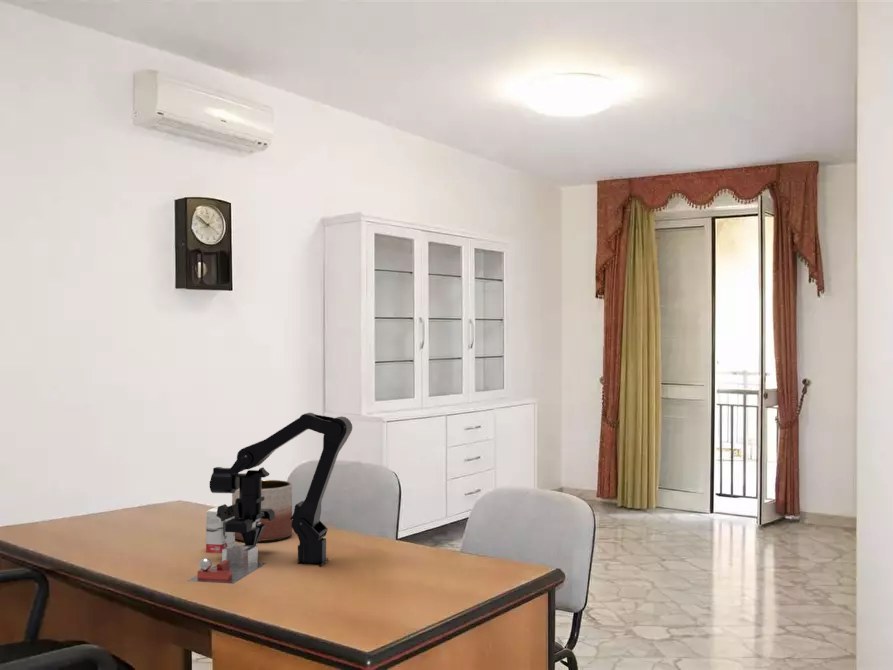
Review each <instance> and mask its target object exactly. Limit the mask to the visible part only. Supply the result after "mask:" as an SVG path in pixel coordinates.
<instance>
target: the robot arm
mask: <svg viewBox="0 0 893 670" xmlns="http://www.w3.org/2000/svg"><path fill="white" fill-rule="evenodd" d="M308 430H311V431H313V432H316V433H318V434H319V433H320V434H322V435H323V443H322V451H321V454H320V456H319V460H318V462H317V465H316V468H315V471H314V474H313V476H312V480H311V482H310V485H309V488H308V491H307V494H306V496H305V499H304V500H301V501H299V502H298V503H296V504H295V506H294V510H293V513H292V517H291V518H290V520H292V524H291V526H292V532H294V533H295V534H296V535H297V538H298V541H299V544H298V545H297V561H298V562H297V563H296V564H297V565H311V566H312V565H313V566H318V567H321V566H323V565H325V563H327V562H328V561H329V558H327V538H326V536H327V533H328V530H329V528H328V527H327V526H326V525H325V524H324V523H323V522H322V521H321V514H322V501H323V499H324V495H325V492H326V489H327V487H328V484H329V481H330V479H331V475H332V474H333V473H332V472H333V470H334V467H335V464H336V462H337V458H338V455H339V453H340V451H341V449H342V448H343V446H344V445H345V444H346V442H347V441H348V439H349V437H350V435H351V433H352V430H353V424H352V423H351V420H350V419H349V418H347V417H346V416H337V417H331V416H326V415H320V414H316V413H314V412H307V413H304V414H301V415H300V416H299V418H296V419H295V420H294V421H292V422H291V423H289V424H287V425H286V426H284V427H282V428H281V429H279V430H277V431H276V432H274V434H271V435H270V436H269V437H267V438H265V439H263V440H261V441H257V442H254V443H252V444H249V445H248V446H245V447H243V448H241V449H240V450H239V451H237V455H236V460H235V461H234V463H233V464H232V466H231V467H222V466H217V467H213V468H212V474H211V475H210V481H209V489H210V492H211V493H212V494H232V493H234V492H235V491H236V490H238V489H239V498H237V499H236V501H235V504H234V505H232V504H230V505H227V504H225V503H224V504H221V505H218V506H219V507H218V506H217V507H218V510H217V515H216V516H217V517H219V518H220V519H221V522H222V521H225V520H226V519H229V518H232V517H234V518H233V519H231V520H228V521H227V522H226V523H225V524H224V531H225V532H237V533H241V534H242V537H243V539H244V541H243V542H244V545H257V544H258V543H259V542H258V539H259V537H260V535H261V533H262V531H263V529H264V527H265V526H266V524H261V521H260V519H268V520H269V521H272V520H274V519H275V512H274V511H273V510H272V509H261V501H263V500H264V496H261V480H263V479H262V478H266V477H269V476H270V472H269V471H267V470H266V469H265V468H264V466H263V467H260V468H259V469H253V468H256V467H259V466H260V465H262V464H263V463H264V462H265V461H266V460H267V459H268V458H269V457H270V456H271V455H272V454H273V453H274V452H275V451H276V450H277V449H279V448H280V447H282V446H284V445H286V444H287V443H289V442H290V441H291V440H293V439H295V438H296V437H298V436H300V435H301V434H302V433H304V432H306V431H308ZM245 470H247V471H246V473H241V472H243V471H245ZM239 518H241V519H239ZM324 537H325V538H324Z"/></svg>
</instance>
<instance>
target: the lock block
mask: <svg viewBox="0 0 893 670" xmlns="http://www.w3.org/2000/svg"><path fill="white" fill-rule="evenodd" d="M258 547H259V546H258V545H257V544H256V545H245V544H236V543H235V544H232V545H230V546H228V547H226V548H224V549H222V553H221V558H222V559H221V562H222V561H224V560H228V561H230V565H232V564H234V563H240V564H243V568H244V569H248V568H250V567H251V566H253V565H255V564H257V563H258V562H259V561H258V559H259V557H258V555H259V554H258V550H259V549H258Z"/></svg>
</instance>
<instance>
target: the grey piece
mask: <svg viewBox="0 0 893 670" xmlns="http://www.w3.org/2000/svg"><path fill="white" fill-rule="evenodd" d="M267 564H268V562H261V561H260V562H259V561H258V563H257V564H255V565H253V566H251V567H250V568H248V569H244V568H243V564H240V563H234V564H232V565H230V561H228V560H224V561H222V560H221V561H220V562H219V563H217V564H216V565H214V566H213V562H212V560H211V559H210V558H209V557H204V558H202V559H200V560H199V562H198V567H199V570H197V575H195V576H193V577H191V578H190V579H188V580H186V582H197V583H199V582H201V583H211V584H212V583H214V584H215V583H216V584H229V585H230V584H233V585H234V584H235V583H238V582H239V581H240V580H242V579H243V578H245V577H247V576H248V575H250V574H252V573H254V572H255V571H257V570H258V569H260V568H262V567H263V566H265V565H267Z"/></svg>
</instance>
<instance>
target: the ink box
mask: <svg viewBox="0 0 893 670" xmlns="http://www.w3.org/2000/svg"><path fill="white" fill-rule="evenodd" d="M219 506H220V505H218V506H216V507H213V508H209V509H208V510H206V520H205V521H206V524H205V526H206V527H205V529H206V530H205V531H206V532H205V534H206V535H205V552H206V553H213V554H222V549H224V548H226V547H228V546H230V545H232V544H236V539H235V532H225V531H224V524H225V523H226V522H227V521H228V520H231V519H233V518H234V517H232V518H229V519H226V520H225V521H222V522H221V519H220V518H219V517H217V516H216V515H217V510H218V507H219Z"/></svg>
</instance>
